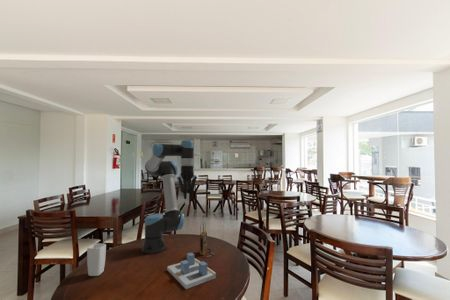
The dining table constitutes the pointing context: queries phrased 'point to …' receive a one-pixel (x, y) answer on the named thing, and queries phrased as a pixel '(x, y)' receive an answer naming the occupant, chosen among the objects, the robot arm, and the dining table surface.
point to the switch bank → (190, 275)
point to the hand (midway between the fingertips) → (186, 203)
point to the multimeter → (203, 242)
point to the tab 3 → (203, 268)
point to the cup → (96, 259)
